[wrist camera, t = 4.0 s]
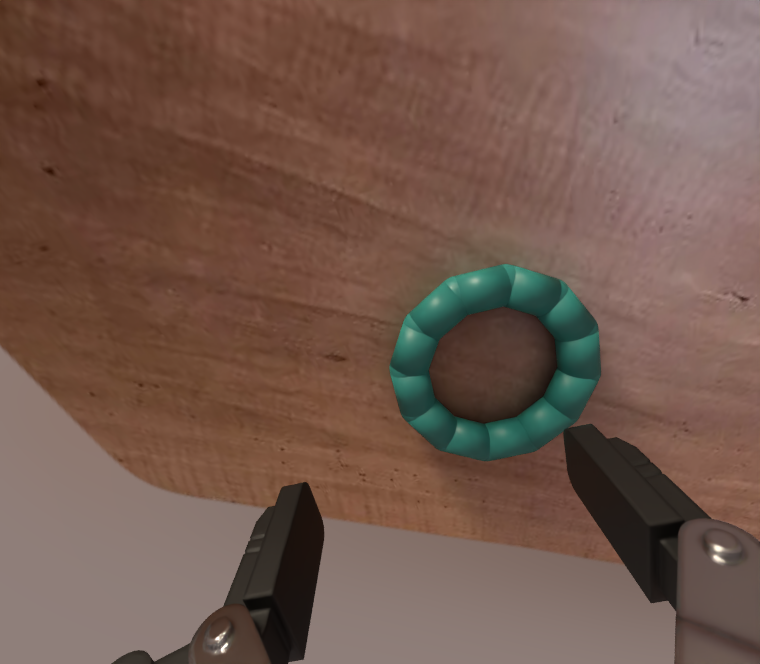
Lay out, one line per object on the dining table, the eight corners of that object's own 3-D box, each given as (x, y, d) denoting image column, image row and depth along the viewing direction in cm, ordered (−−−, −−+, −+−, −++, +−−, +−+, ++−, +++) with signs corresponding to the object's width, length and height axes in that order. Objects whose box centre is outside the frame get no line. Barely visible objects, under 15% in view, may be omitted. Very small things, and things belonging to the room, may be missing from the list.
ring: (414, 460, 20) (417, 484, 18) (370, 292, 17) (369, 302, 15) (592, 423, 20) (613, 444, 18) (579, 241, 17) (602, 245, 15)
